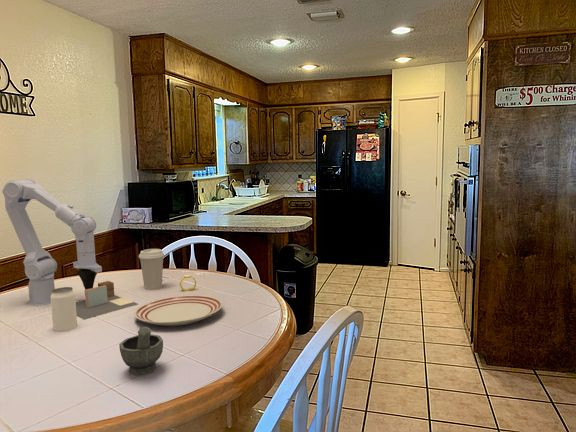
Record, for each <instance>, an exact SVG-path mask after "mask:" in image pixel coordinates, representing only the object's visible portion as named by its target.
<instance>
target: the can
mask: <svg viewBox="0 0 576 432" xmlns="http://www.w3.org/2000/svg"><path fill="white" fill-rule="evenodd" d="M73 289H74V288H73V287H71V286H63V287H62V286H61V287H57V288H55V289H54V290H52V294H51V303H50V308H51V317H52V330H53V331H54V332H67V331H71V330H73V329H75V328H77V327H78V318H77V314H76V302H77V301H76V294H75V291H74V290H73Z"/></svg>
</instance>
